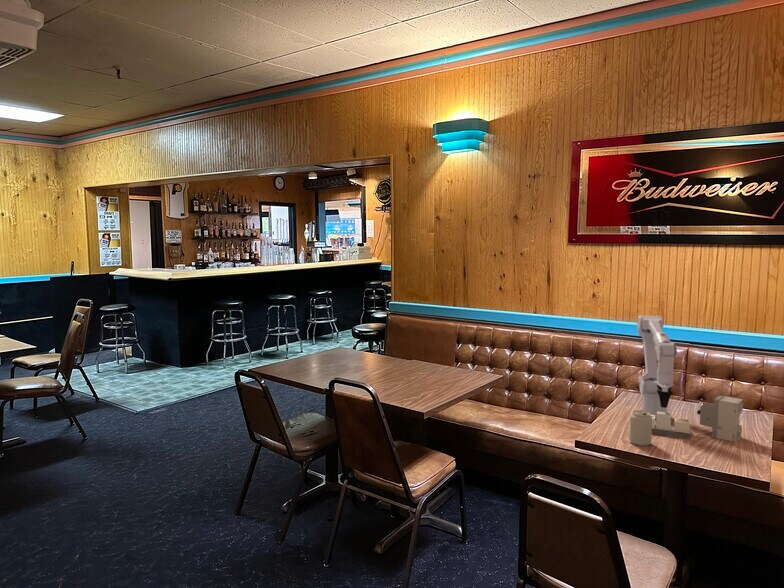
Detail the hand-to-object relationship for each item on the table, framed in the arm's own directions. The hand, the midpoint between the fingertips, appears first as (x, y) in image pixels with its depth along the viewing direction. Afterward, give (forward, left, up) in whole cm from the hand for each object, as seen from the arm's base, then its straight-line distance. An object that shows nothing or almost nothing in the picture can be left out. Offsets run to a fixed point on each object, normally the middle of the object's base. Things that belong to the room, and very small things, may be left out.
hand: (663, 404), depth 215 cm
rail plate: (+4, +4, -9) cm, 11 cm away
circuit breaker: (-12, +15, -10) cm, 21 cm away
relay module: (+4, +4, -8) cm, 10 cm away
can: (+23, +9, -10) cm, 26 cm away
